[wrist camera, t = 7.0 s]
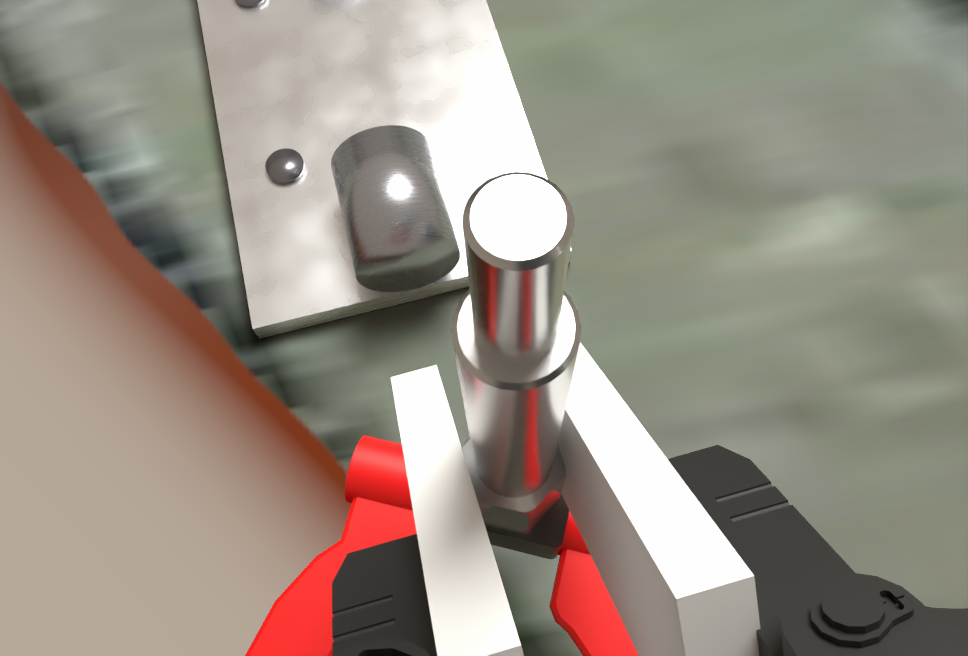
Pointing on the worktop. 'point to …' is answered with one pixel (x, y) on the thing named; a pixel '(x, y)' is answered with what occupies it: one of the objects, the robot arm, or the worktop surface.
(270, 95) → the hinge leaf
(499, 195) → the tow hook
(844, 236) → the worktop surface
